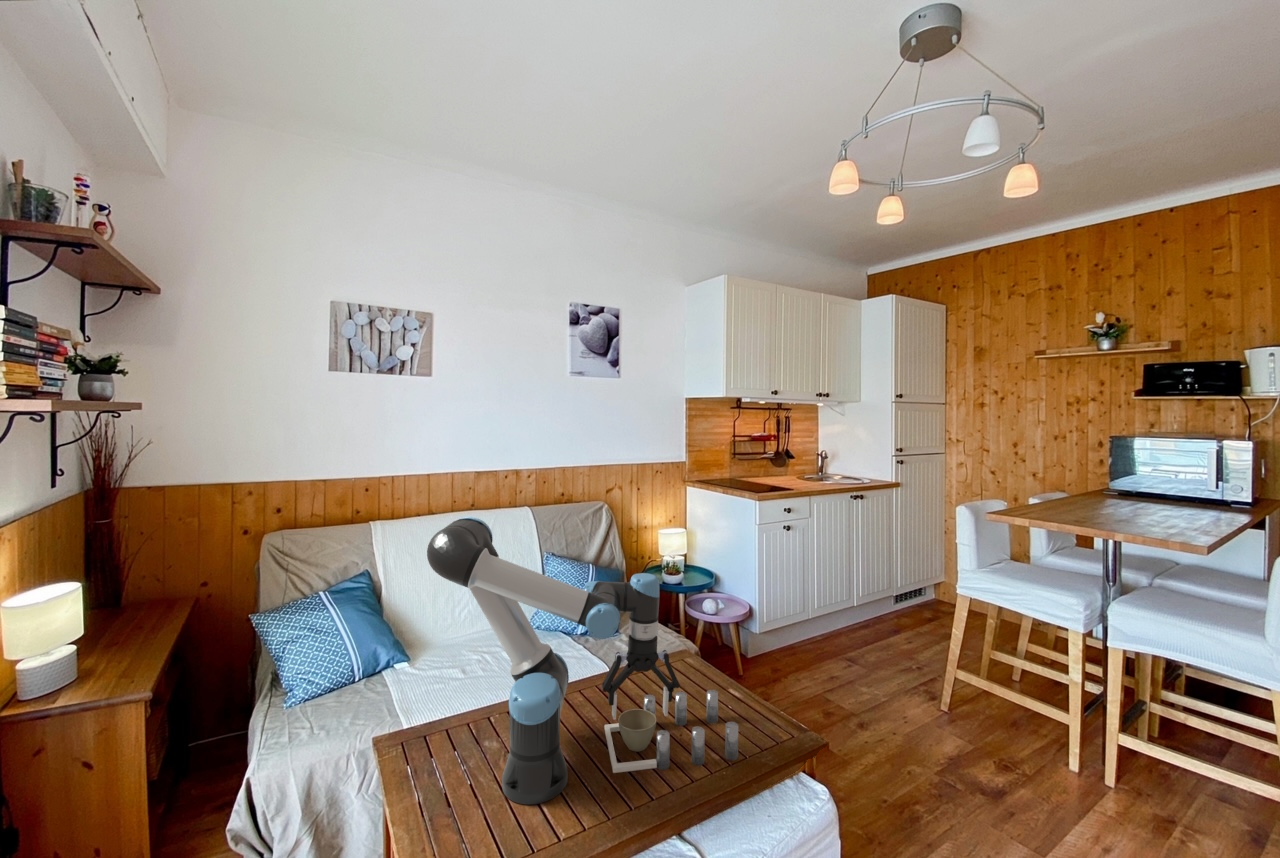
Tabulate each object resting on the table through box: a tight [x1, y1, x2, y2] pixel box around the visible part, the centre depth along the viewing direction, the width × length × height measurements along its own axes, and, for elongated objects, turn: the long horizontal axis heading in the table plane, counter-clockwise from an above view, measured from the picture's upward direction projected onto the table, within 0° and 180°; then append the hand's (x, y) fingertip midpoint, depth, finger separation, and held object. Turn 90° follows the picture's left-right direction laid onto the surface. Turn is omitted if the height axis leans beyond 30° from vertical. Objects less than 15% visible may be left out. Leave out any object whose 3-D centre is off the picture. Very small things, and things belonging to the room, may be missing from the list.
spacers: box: [643, 689, 739, 771], centre depth 144 cm, size 21×20×8 cm
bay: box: [604, 723, 658, 774], centre depth 141 cm, size 11×18×1 cm, turn 10°
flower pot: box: [617, 708, 657, 753], centre depth 141 cm, size 10×10×7 cm
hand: (639, 715), depth 141 cm, fingers open, 13 cm apart
